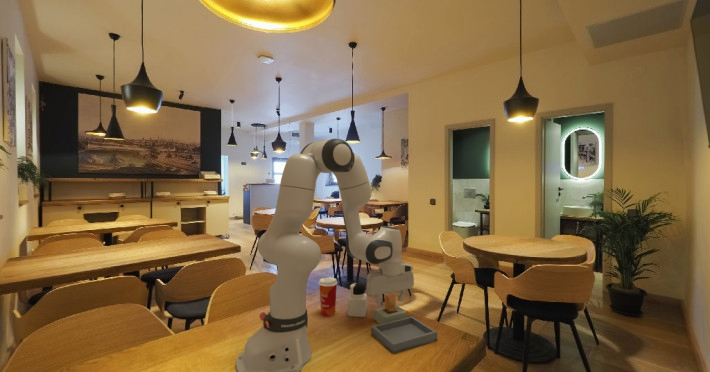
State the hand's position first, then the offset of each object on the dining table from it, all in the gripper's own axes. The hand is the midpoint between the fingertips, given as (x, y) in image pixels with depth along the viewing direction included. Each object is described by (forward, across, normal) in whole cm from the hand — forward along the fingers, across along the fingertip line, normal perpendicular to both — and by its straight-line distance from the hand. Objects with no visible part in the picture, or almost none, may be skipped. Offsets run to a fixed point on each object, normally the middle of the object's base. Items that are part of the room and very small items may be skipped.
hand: (390, 302), depth 125 cm
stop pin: (+7, 0, 0) cm, 7 cm away
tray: (+7, -3, -13) cm, 15 cm away
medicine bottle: (+7, -8, +12) cm, 16 cm away
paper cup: (+7, -19, +17) cm, 27 cm away
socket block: (+7, 0, 0) cm, 7 cm away
